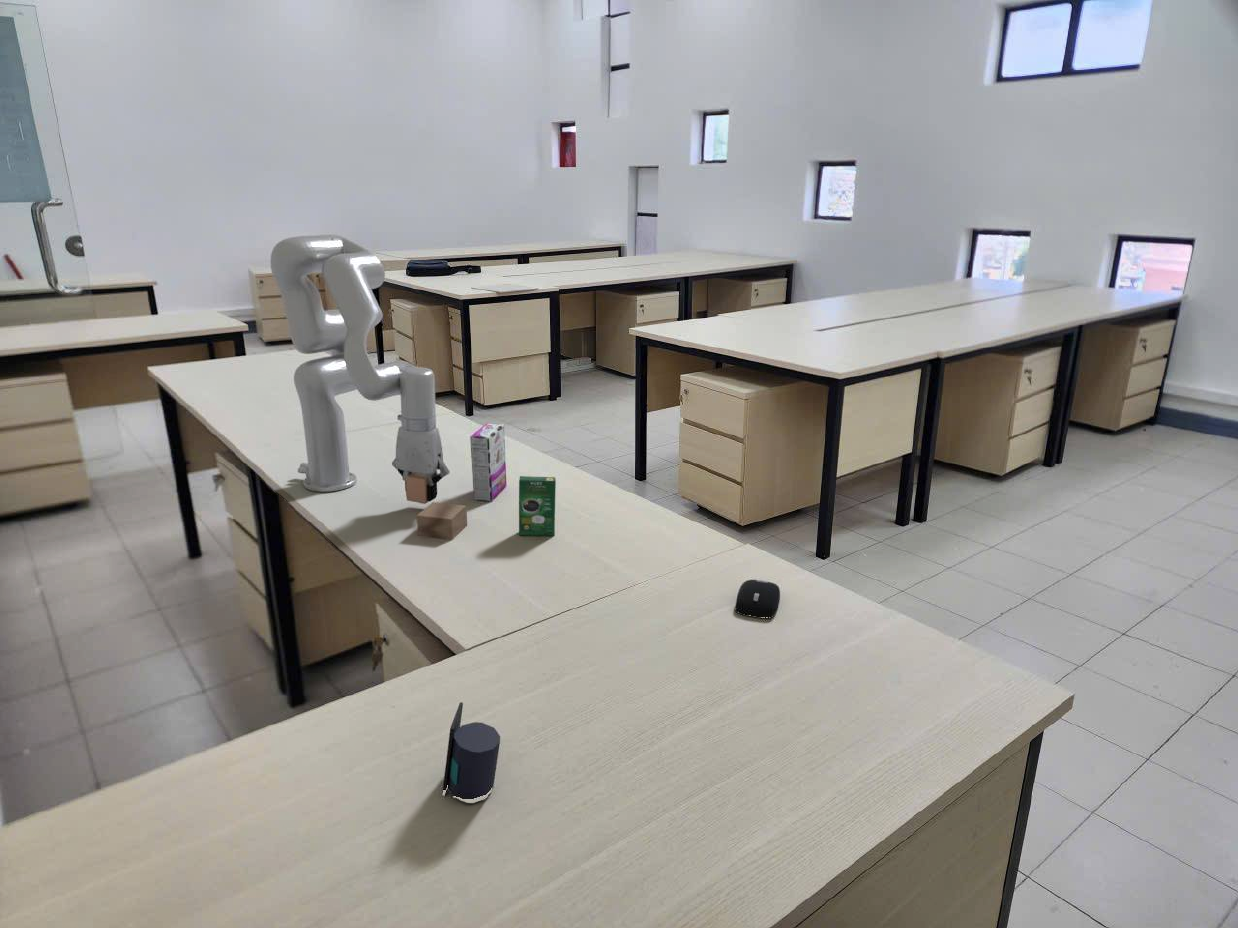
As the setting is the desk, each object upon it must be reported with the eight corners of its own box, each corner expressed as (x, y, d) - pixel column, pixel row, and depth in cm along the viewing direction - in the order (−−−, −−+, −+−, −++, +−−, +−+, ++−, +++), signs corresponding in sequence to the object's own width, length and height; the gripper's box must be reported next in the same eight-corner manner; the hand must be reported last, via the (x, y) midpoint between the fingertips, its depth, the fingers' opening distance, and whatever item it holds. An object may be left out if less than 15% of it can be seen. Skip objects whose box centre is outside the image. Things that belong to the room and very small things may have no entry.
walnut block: (418, 536, 177) (416, 515, 176) (434, 522, 185) (432, 502, 183) (452, 540, 176) (451, 519, 174) (467, 526, 183) (466, 505, 181)
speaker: (426, 793, 103) (431, 724, 100) (452, 766, 108) (458, 700, 105) (478, 816, 100) (484, 746, 97) (502, 788, 106) (509, 720, 102)
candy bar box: (488, 484, 207) (486, 422, 202) (507, 486, 206) (505, 424, 201) (472, 500, 197) (469, 435, 192) (491, 502, 196) (489, 437, 191)
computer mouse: (783, 592, 156) (785, 574, 155) (773, 622, 146) (775, 602, 144) (744, 586, 159) (746, 567, 157) (732, 615, 148) (733, 595, 147)
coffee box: (556, 531, 181) (556, 475, 177) (555, 536, 178) (555, 480, 174) (519, 531, 181) (518, 475, 176) (518, 536, 178) (517, 479, 173)
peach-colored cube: (406, 500, 189) (405, 476, 187) (418, 493, 193) (417, 469, 191) (424, 504, 188) (424, 479, 186) (435, 496, 192) (435, 472, 190)
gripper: (376, 421, 183) (380, 496, 190) (443, 432, 178) (445, 509, 185) (395, 413, 190) (399, 485, 196) (460, 423, 185) (461, 498, 191)
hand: (421, 496), depth 190 cm, fingers closed on peach-colored cube, 4 cm apart
